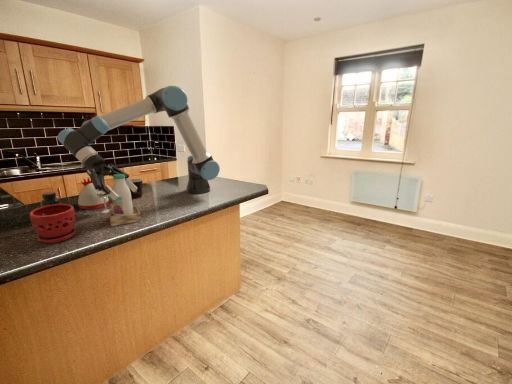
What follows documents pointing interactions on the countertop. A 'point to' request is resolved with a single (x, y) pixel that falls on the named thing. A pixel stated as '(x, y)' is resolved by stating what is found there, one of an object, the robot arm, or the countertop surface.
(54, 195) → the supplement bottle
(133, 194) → the coffee mug
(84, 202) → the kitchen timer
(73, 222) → the plant pot
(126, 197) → the milk bottle
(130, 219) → the wooden tray
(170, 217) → the countertop surface
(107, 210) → the wineglass
